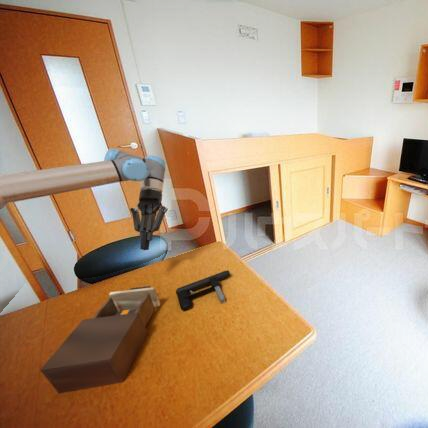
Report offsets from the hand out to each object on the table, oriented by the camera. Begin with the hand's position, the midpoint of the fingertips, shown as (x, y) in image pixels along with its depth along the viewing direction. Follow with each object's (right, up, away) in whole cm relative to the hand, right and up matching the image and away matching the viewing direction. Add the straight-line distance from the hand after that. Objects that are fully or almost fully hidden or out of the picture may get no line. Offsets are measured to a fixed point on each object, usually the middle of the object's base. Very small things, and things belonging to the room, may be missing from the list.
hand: (144, 249), depth 90 cm
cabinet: (+6, -29, -22) cm, 36 cm away
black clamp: (+23, -18, +2) cm, 29 cm away
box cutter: (+3, -21, -11) cm, 24 cm away
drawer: (+3, -22, -9) cm, 24 cm away
